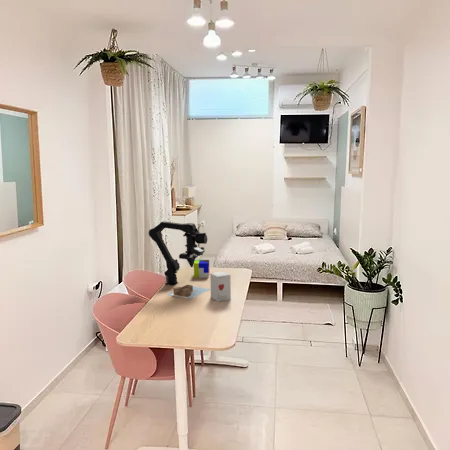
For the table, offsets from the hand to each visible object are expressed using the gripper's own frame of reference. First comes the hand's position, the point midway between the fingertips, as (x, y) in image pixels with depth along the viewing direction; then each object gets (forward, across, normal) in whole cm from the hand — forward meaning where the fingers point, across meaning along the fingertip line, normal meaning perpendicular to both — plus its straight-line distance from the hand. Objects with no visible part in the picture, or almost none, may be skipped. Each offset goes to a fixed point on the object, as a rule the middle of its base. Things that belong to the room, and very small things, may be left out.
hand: (191, 267), depth 278 cm
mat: (+12, -13, -7) cm, 19 cm away
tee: (+12, -17, -7) cm, 22 cm away
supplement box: (+12, -14, -31) cm, 36 cm away
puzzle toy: (+12, +22, +8) cm, 26 cm away
